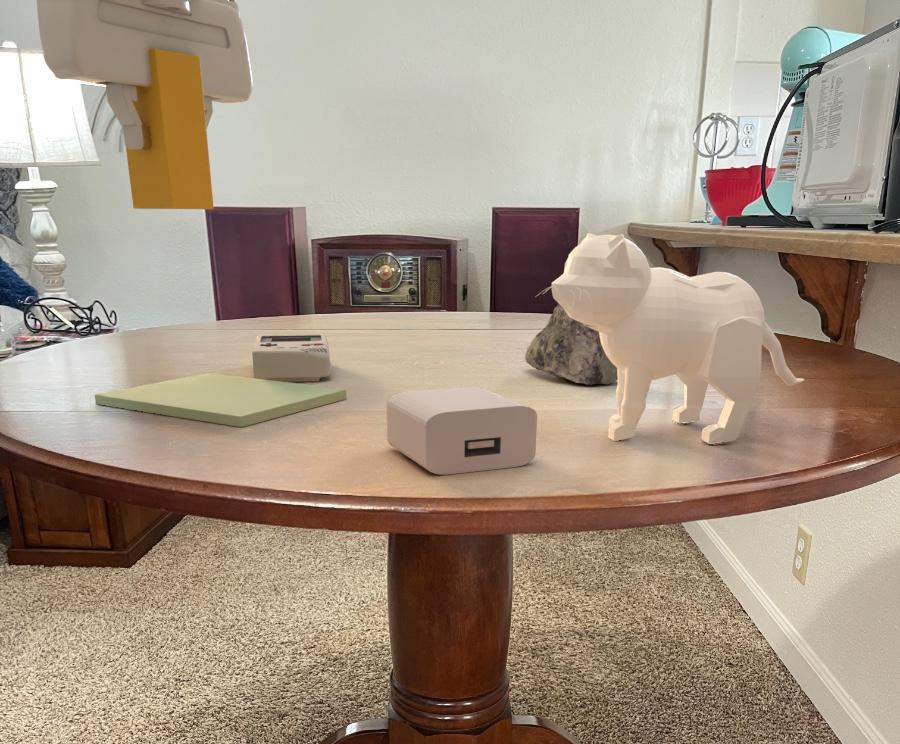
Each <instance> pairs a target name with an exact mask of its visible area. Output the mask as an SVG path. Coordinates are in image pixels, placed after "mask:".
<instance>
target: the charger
mask: <svg viewBox="0 0 900 744" xmlns="http://www.w3.org/2000/svg"><path fill="white" fill-rule="evenodd" d="M537 426H538V413H537V411H536V410H535V409H534V408H531V407H530V406H527V405H524V404H523V403H519V402H517V401H515V400H513V399H510V398H507V397H505V396H503V395H500V394H498V393H495V392H492V391H490V390H487V389H484V388H483V387H479V386H463V387H462V386H461V387H449V388H437V389H422V390H410V391H409V390H407V391H401V392H398V393H395V394H393V395H391V396H390V397H389V398H388V399H387V401H386V433H387V434H386V435H387V436H386V438H387V439H386V440H387V443H388V444H389V445H390V446H391V447H392V448H394V449H395V450H397V451H398V452H400V453H401V454H403V455H404V456H406V457H407V458H409V459H411V460H412V461H413V462H415V463H416V464H418V465H419V466H420V467H422V468H423V469H425V470H427V471H428V472H430V473H432V474H435V475H441V476H442V475H443V476H444V475H445V476H446V475H447V476H448V475H457V474H465V473H473V472H474V473H475V472H482V471H491V470H500V469H502V470H503V469H509V468H517V467H522V466H525V465H527V464H529V463H531V462H532V461H533V460H534V459H535V457H536V454H537V453H536V451H537V450H536V449H537V431H538V430H537Z"/></svg>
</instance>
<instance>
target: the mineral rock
mask: <svg viewBox="0 0 900 744" xmlns="http://www.w3.org/2000/svg"><path fill="white" fill-rule="evenodd" d="M524 359H525V362H526V364H528V365H530V366H531V367H532V368H534V369H535V370H537V371H542V372H545V373H548V374H550V375H551V376H554V377H557V378H560V377H562V378H565V379H566V380H569V381H571V382H573V383H575V384H580V385H586V386H590V385H607V384H608V385H611V384H613V383H615V382H616V381H618V374H617V367H616V366H615V365H613V364H612V363H611V361H610V360H609V358H608V357H607V355H606V354H605V352H604V349H603V347H602V344H601V341H600V335H599V332H598V331H596V330H594V329H591V328H589V327H587V326H584V325H583V323H581V322H578V321H576V320H574V319H572V318H570V317H569V316H568V314H567V313H566V311H565V310H564V308H563V307H562V306H561V305H560V304H559V303H558V304H557V305H556V306H555V307H554V309H553V313H552V314H551V315H550V317H549V319H548V321H547V324H546V325H545V327H544V328H543V329H542V330H540V331H539V332H537V333H536V335H535V336H534V337H533V339H532V341H531V342H530V344H529V345H528V347H526V351H525V354H524Z"/></svg>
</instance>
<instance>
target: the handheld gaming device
mask: <svg viewBox="0 0 900 744" xmlns="http://www.w3.org/2000/svg"><path fill="white" fill-rule="evenodd" d="M251 352H252V353H251V356H252V357H251V358H252V368H253V378H256V379H264V380H273V381H281V382H289V383H299V382H303V383H304V382H320V378H327V377H330V376H331V374H332V371H331V370H332V369H331V358H330V357H331V356H330V347H329V344H328V337H327V335H326V334H324V333H321V334H320V333H318V334H317V333H316V334H315V333H314V334H311V333H310V334H258V335H257V336H256V338H255V342H254V345H253V349H252V351H251Z"/></svg>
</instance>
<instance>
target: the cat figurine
mask: <svg viewBox="0 0 900 744" xmlns="http://www.w3.org/2000/svg"><path fill="white" fill-rule="evenodd" d="M550 289H551V293H552V294H551V295H552V298H553V299H554V300H555V302H556V303H557V304H558V305H559V304H560V305H561V306H562V307H563V308H564V310H565V311H566V313H567V314H568V316H569V317H570V318H572V319H574V320H576V321H578V322H581V323H583V325H584V326H587V327H589V328H591V329H594V330H596V331H598V332H599V335H600V341H601V344H602V347H603V349H604V352H605V354H606V355H607V357H608V358H609V360H610V361H611V363H612V364H613V365H615V366H616V367H617V374H618V380H617V387H616V390H615V394H616V395H615V396H616V405H617V407H616V408H617V413H615V414H612V415H611V416H609V422H608V434H607V438H608V439H610V440H611V441H613V442H619V440H621V441H624V440H626V439H630V438H634V437H635V436H636V429H637V428H636V427H637V425H638V423H639V421H640V419H641V418H642V416H643V414H644V411H645V409H646V407H647V406H646V403H647V401H646V400H647V397H648V394H649V391H650V388H651V384H652V381H656V380H660V379H663V378H667V377H671V376H673V375H675V376H676V377H677V378H678V379H679V380H680V382H682V383H683V405H680V406H678V407H677V408H674V409H673V410H672V419H671V421H672V420H674V421H676V422H678V423H682V422H691V423H693V422H692V421H694V422H697V421H699V420H700V417H701V416H700V415H701V413H702V410H703V407H704V402H705V398H706V394H707V390H708V386H709V385H710V386H711V387H712V388H713V389H714V390H715V391H717V392H718V393H719V394H720V395H721V396H722V397H724V398H725V399H726V400H725V403H724V405H723V408H722V410H721V413H720V415H719V418H718V420H717V423H716V424H709V425H707V426H705V427H702V431H701V437H700V438H701V439H702V440H704V441H706V442H708V443H717V442H725V443H729V442H735V441H736V439H738V438H739V436H740V434H741V432H742V429H743V427H744V424H745V423H746V419H747V417H748V415H749V412H750V409H751V407H752V404H753V401H754V398H755V396H756V392H757V389H758V386H759V383H760V380H761V378H762V354H763V353H762V349H763V347H764V348H765V349H766V350H768V352H769V354H770V357H771V361H772V366H773V368H774V372H775V374H776V376H778V377H779V379H781V380H782V381H783V382H784V383H785V384H786V385H787V386H788V387H790V386H791V387H792V386H796V385H799V384H801V383H803V382H804V381H805V378H798V377H796V376H795V374H793V372H792V371H791V370H790V368H789V367H788V365H787V363H786V358H785V355H784V351H783V348H782V345H781V342H780V341H779V339H778V338H777V336H776V335H775V333H774V332H773V330H772V329H771V328H770V326H769V325H768V323H767V322H766V316H765V309H764V306H763V303H762V300H761V298H760V296H759V295H758V293H757V292H756V290H755V289H754V288H753V286H752V285H750V283H748V282H747V281H746V280H744V279H743V278H741V277H739V276H738V275H735V274H733V273H730V272H728V271H727V272H726V271H713V272H707V273H704V274H698V275H694V276H688V275H686V274H684V273H682V272H679V271H677V270H674V269H672V268H666V267H651V266H650V264H649V262H648V259H647V257H646V255H645V254H644V252H643V251H642V249H640V247H638V246H637V245H636V244H635V243H634V242H633V241H631V240H630V239H627V238H626V237H625V235H624V233H620V234H599V235H596V234H594V233H590V232H587V234H586V237H584V238H583V239H582V240H581V241H580V243H579V244H578V245H577V246H575V247H574V248H573V249H572V250H571V251H570V253H568V257H567V259H566V261H565V262H564V269H563V273H562V274H561V275H560V276H559V277H558V278H556V279H555V280H554V281H552V282H551V286H549V287H546V288H545V289H544V290H542V291H541V292H540V293H538V294H537V295H535V298H536V297H537V296H539V295H540V294H542V295H544V294H545V293H546V291H549V290H550ZM701 439H700V440H701ZM728 441H729V442H728Z"/></svg>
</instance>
